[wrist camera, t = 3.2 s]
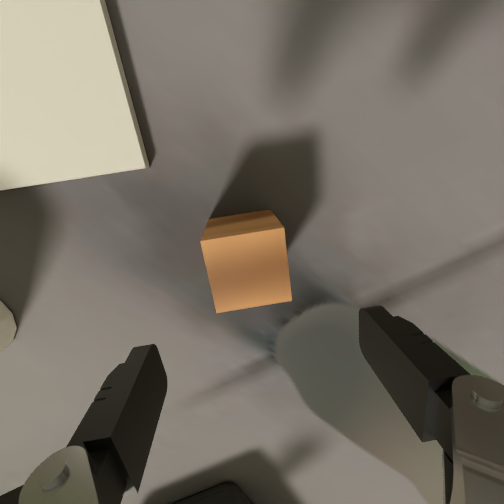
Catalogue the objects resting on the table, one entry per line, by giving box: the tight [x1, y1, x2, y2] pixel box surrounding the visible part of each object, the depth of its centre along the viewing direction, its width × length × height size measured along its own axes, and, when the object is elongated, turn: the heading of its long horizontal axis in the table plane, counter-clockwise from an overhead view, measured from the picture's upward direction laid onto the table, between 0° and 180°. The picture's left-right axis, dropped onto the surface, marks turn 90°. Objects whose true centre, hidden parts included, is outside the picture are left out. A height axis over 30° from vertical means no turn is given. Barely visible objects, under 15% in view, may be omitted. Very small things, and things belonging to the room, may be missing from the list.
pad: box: [0, 0, 150, 191], centre depth 16 cm, size 14×14×1 cm
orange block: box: [200, 209, 292, 313], centre depth 19 cm, size 5×5×6 cm
